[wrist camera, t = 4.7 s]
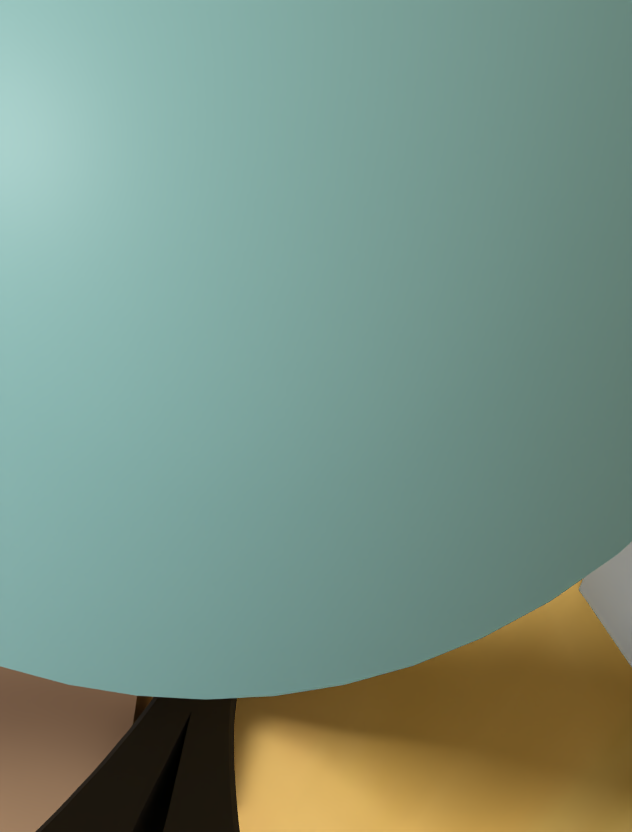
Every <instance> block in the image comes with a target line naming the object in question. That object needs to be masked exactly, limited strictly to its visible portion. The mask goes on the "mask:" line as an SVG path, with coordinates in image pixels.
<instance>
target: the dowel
mask: <svg viewBox="0 0 632 832" xmlns="http://www.w3.org/2000/svg"><path fill="white" fill-rule="evenodd" d="M631 542H632V0H0V666H1V667H4V668H8V669H12V670H16V671H19V672H23V673H27V674H31V675H34V676H38V677H42V678H45V679H49V680H53V681H57V682H60V683H64V684H68V685H74V686H80V687H86V688H92V689H99V690H105V691H111V692H117V693H123V694H130V695H136V696H151V697H169V698H187V699H205V700H207V699H226V698H246V697H265V696H278V695H284V694H291V693H297V692H303V691H309V690H315V689H321V688H328V687H334V686H340V685H346V684H349V683H353V682H356V681H360V680H364V679H367V678H371V677H374V676H378V675H382V674H385V673H389V672H392V671H396V670H400V669H403V668H407V667H410V666H414V665H416V664H419V663H421V662H424V661H426V660H429V659H431V658H434V657H436V656H439V655H441V654H444V653H446V652H449V651H451V650H454V649H456V648H459V647H461V646H464V645H466V644H468V643H471V642H473V641H476V640H478V639H481V638H483V637H485V636H487V635H489V634H491V633H492V632H494V631H496V630H498V629H500V628H502V627H503V626H505V625H507V624H509V623H511V622H513V621H515V620H516V619H518V618H520V617H522V616H524V615H526V614H528V613H529V612H531V611H533V610H535V609H537V608H539V607H540V606H542V605H544V604H546V603H548V602H550V601H551V600H553V599H554V598H556V597H557V596H558V595H560V594H561V593H563V592H564V591H566V590H567V589H569V588H570V587H571V586H573V585H574V584H576V583H577V582H579V581H580V580H581V579H583V578H584V577H586V576H587V575H589V574H590V573H591V572H593V571H594V570H596V569H597V568H599V567H600V566H602V565H603V564H604V563H606V562H607V561H609V560H610V559H612V558H613V557H614V556H616V555H617V554H618V553H619V552H621V551H622V550H623V549H624V548H625V547H626V546H627V545H629V544H630V543H631Z"/></svg>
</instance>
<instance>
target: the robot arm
mask: <svg viewBox="0 0 632 832" xmlns="http://www.w3.org/2000/svg"><path fill="white" fill-rule="evenodd" d="M236 701H237V698H226V699H207V700H205V699H187V698H169V697H153V699H152V700H151V702H150V703H149V704H148V706H147V707H146V708H145V710H144V711H143V712H142V714H141V715H140V716H139V717H138V719H137V720H136V721H135V723H134V724H133V725H132V726H131V728H130V729H129V730H128V731H127V733H126V734H125V735H124V736H123V737H122V738H121V740H120V741H119V742H118V743H117V744H116V746H115V747H114V748H113V749H112V750H111V751H110V753H109V754H108V755H107V756H106V757H105V759H104V760H103V761H102V762H101V763H100V764H99V766H98V767H97V768H96V769H95V770H94V771H93V772H92V773H91V774H90V775H89V777H88V778H87V779H86V780H85V781H84V782H83V783H82V784H81V785H80V786H79V787H78V788H77V789H76V790H75V791H74V793H73V794H72V795H71V796H70V797H69V798H68V799H67V800H66V801H65V802H64V803H63V804H62V805H61V806H60V808H59V809H58V810H57V811H56V812H55V813H54V814H53V815H52V816H51V817H50V818H49V819H48V820H47V821H46V822H45V823H44V824H43V825H42V826H41V827H40V828H39V829H38V830H37V831H36V832H240V830H239V822H238V812H237V801H236V786H235V771H234V719H235V708H236Z"/></svg>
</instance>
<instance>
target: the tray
mask: <svg viewBox="0 0 632 832" xmlns="http://www.w3.org/2000/svg"><path fill="white" fill-rule="evenodd" d="M579 591H580V592H581V594H582V595H583V596H584V598H585V599H586V601H587V602H588V604H589V605H590V607H591V608H592V610H593V611H594V613H595V614H596V616H597V617H598V619H599V620H600V622H601V623H602V624H603V626H604V627H605V629H606V630H607V632H608V633H609V635H610V636H611V638H612V639H613V641H614V642H615V644H616V645H617V647H618V648H619V649H620V651H621V652H622V654H623V655H624V657H625V658H626V660H627V661H628V663H629V664H630V666H631V667H632V542H631V543H630V544H629V545H627V546H626V547H625V548H624V549H623V550H622V551H621V552H619V553H618V554H617V555H616V556H614V557H613V558H612V559H610V560H609V561H607V562H606V563H604V564H603V565H602V566H600V567H599V568H597V569H596V570H594V571H593V572H591V573H590V574H589V575H587V576H586V577H584V578H583V580H582V583H581V585H580V587H579Z"/></svg>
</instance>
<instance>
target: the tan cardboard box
mask: <svg viewBox="0 0 632 832" xmlns="http://www.w3.org/2000/svg"><path fill="white" fill-rule="evenodd" d="M152 699H153V697H151V696H136V695H130V694H123V693H117V692H111V691H105V690H99V689H92V688H86V687H80V686H74V685H68V684H64V683H60V682H57V681H53V680H49V679H45V678H42V677H38V676H34V675H31V674H27V673H23V672H19V671H16V670H12V669H8V668H4V667H1V666H0V832H36V831H37V830H38V829H39V828H40V827H41V826H42V825H43V824H44V823H45V822H46V821H47V820H48V819H49V818H50V817H51V816H52V815H53V814H54V813H55V812H56V811H57V810H58V809H59V808H60V806H61V805H62V804H63V803H64V802H65V801H66V800H67V799H68V798H69V797H70V796H71V795H72V794H73V793H74V791H75V790H76V789H77V788H78V787H79V786H80V785H81V784H82V783H83V782H84V781H85V780H86V779H87V778H88V777H89V775H90V774H91V773H92V772H93V771H94V770H95V769H96V768H97V767H98V766H99V764H100V763H101V762H102V761H103V760H104V759H105V757H106V756H107V755H108V754H109V753H110V751H111V750H112V749H113V748H114V747H115V746H116V744H117V743H118V742H119V741H120V740H121V738H122V737H123V736H124V735H125V734H126V733H127V731H128V730H129V729H130V728H131V726H132V725H133V724H134V723H135V721H136V720H137V719H138V717H139V716H140V715H141V714H142V712H143V711H144V710H145V708H146V707H147V706H148V704H149V703H150V702H151V700H152Z"/></svg>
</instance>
